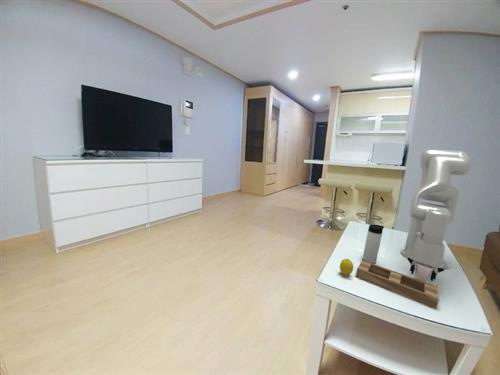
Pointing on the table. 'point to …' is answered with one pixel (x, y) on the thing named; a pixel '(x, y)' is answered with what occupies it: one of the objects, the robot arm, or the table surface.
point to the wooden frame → (399, 283)
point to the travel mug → (372, 243)
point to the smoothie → (423, 272)
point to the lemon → (346, 266)
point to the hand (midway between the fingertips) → (421, 276)
